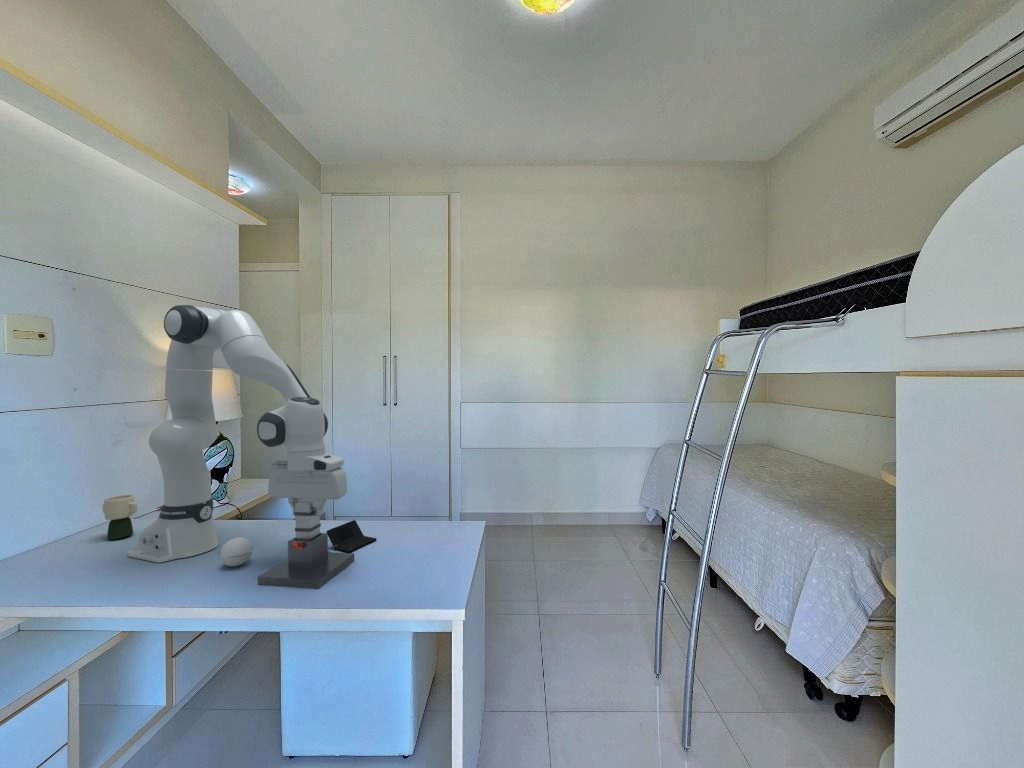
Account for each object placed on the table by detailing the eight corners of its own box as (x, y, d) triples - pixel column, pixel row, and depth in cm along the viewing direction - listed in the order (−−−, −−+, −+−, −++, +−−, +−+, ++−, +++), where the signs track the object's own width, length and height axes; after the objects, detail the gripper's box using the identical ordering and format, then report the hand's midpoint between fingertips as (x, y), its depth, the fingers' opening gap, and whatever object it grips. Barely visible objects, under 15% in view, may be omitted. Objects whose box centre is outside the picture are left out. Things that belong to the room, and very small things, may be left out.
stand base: (257, 584, 104) (256, 547, 104) (301, 557, 120) (300, 525, 120) (318, 589, 101) (317, 550, 101) (354, 560, 117) (353, 527, 117)
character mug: (146, 533, 142) (145, 494, 142) (126, 541, 135) (125, 500, 135) (114, 533, 142) (113, 494, 142) (92, 541, 135) (91, 500, 135)
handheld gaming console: (355, 548, 122) (339, 518, 125) (337, 563, 123) (322, 532, 126) (379, 540, 133) (364, 512, 136) (363, 553, 134) (348, 525, 137)
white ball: (217, 573, 111) (217, 545, 111) (223, 562, 117) (222, 535, 117) (262, 566, 115) (262, 538, 115) (265, 556, 122) (264, 529, 122)
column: (295, 566, 109) (294, 502, 109) (306, 559, 113) (305, 498, 113) (311, 567, 108) (309, 503, 108) (321, 560, 112) (320, 498, 112)
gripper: (261, 462, 109) (262, 517, 109) (335, 463, 106) (336, 520, 106) (278, 458, 115) (279, 510, 115) (349, 459, 112) (350, 512, 112)
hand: (307, 515), depth 111 cm, fingers closed on column, 4 cm apart
